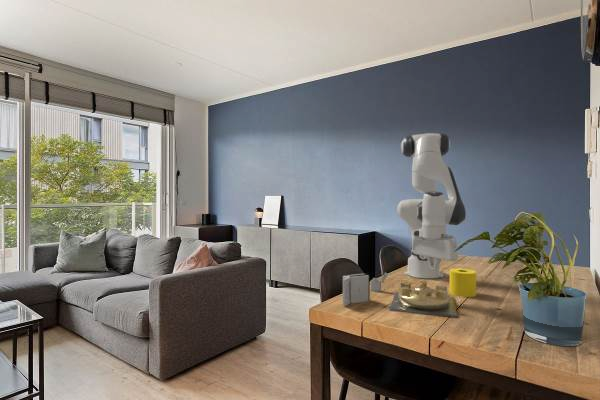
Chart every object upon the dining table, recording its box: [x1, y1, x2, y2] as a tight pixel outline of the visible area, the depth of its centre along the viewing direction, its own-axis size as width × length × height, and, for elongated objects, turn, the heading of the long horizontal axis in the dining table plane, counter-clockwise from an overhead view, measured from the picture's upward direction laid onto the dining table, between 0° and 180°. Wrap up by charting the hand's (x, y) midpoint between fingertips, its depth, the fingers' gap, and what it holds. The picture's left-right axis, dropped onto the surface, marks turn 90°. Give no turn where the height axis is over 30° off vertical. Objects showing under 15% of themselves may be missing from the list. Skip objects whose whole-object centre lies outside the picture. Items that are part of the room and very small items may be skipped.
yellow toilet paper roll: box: [449, 267, 477, 298], centre depth 144 cm, size 10×10×9 cm
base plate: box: [389, 291, 458, 319], centre depth 130 cm, size 22×22×1 cm
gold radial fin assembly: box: [397, 280, 450, 310], centre depth 130 cm, size 18×18×6 cm
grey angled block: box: [370, 272, 388, 292], centre depth 149 cm, size 7×2×8 cm, turn 68°
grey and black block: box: [342, 273, 371, 308], centre depth 134 cm, size 14×5×10 cm, turn 124°
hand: (433, 269), depth 134 cm, fingers closed
